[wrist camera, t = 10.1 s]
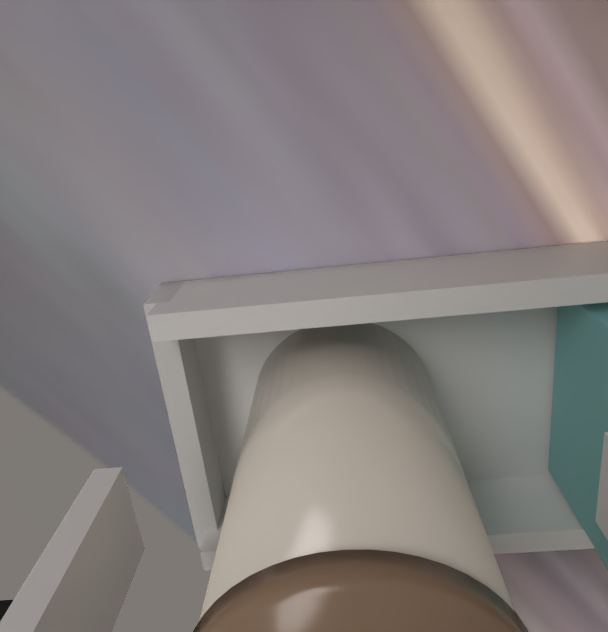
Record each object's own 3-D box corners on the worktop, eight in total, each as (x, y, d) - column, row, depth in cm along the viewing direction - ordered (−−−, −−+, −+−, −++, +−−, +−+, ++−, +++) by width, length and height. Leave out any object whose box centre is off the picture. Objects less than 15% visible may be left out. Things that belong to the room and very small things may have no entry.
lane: (162, 283, 18) (105, 347, 13) (897, 213, 17) (1123, 257, 12) (209, 509, 21) (177, 624, 17) (827, 469, 20) (981, 583, 15)
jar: (239, 325, 18) (135, 603, 8) (430, 307, 18) (569, 580, 8) (265, 480, 20) (207, 849, 10) (435, 468, 20) (548, 842, 10)
